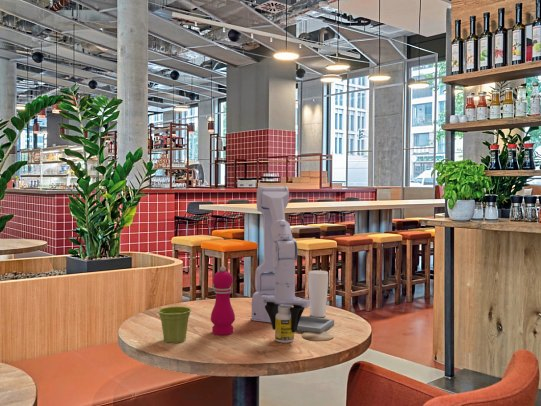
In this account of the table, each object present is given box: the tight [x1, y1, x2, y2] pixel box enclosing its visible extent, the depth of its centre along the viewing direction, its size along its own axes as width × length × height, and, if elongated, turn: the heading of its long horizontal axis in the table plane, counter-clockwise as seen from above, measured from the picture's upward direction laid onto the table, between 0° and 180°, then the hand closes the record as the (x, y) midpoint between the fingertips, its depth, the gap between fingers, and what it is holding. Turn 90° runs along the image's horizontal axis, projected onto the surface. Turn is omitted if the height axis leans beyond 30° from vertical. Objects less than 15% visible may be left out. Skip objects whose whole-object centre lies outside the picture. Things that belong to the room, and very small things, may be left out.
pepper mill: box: [210, 265, 236, 336], centre depth 158 cm, size 7×7×20 cm
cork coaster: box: [302, 331, 334, 342], centre depth 154 cm, size 9×9×1 cm
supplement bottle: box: [274, 305, 295, 344], centre depth 150 cm, size 5×5×10 cm
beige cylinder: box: [307, 269, 329, 318], centre depth 179 cm, size 7×7×15 cm
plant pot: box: [157, 306, 192, 344], centre depth 150 cm, size 9×9×9 cm
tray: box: [296, 315, 335, 333], centre depth 164 cm, size 12×12×2 cm
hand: (284, 330), depth 150 cm, fingers closed on supplement bottle, 5 cm apart
